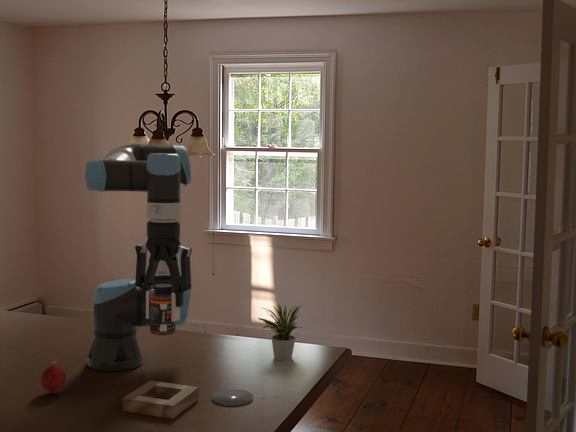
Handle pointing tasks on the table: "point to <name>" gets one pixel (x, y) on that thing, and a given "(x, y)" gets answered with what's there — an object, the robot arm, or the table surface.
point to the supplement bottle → (161, 310)
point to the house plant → (282, 333)
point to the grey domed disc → (232, 397)
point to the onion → (53, 378)
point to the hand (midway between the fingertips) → (162, 318)
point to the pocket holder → (149, 405)
